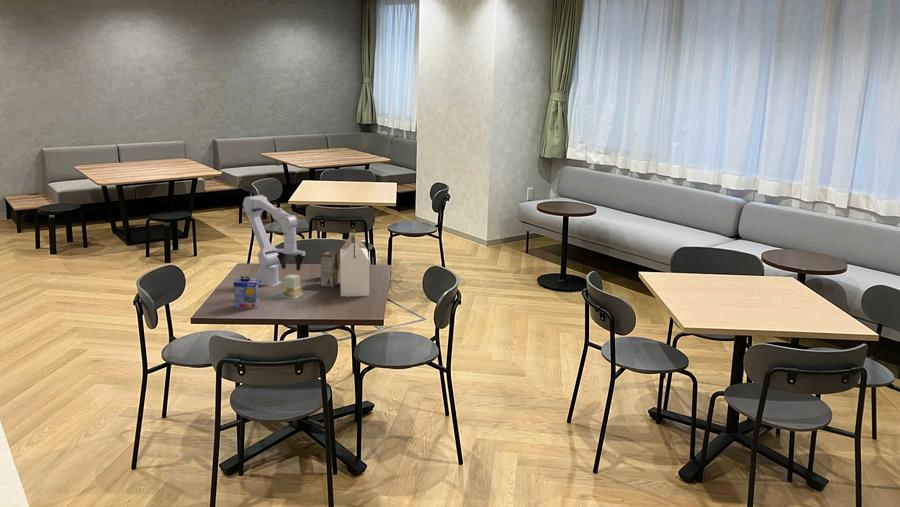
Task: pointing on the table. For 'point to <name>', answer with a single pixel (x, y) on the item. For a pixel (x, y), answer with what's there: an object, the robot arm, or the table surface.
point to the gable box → (354, 267)
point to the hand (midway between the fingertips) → (291, 269)
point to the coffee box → (329, 268)
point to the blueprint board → (300, 298)
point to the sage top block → (292, 281)
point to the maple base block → (291, 291)
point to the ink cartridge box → (246, 293)
